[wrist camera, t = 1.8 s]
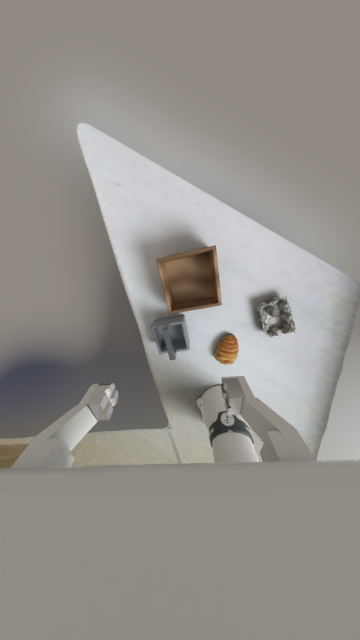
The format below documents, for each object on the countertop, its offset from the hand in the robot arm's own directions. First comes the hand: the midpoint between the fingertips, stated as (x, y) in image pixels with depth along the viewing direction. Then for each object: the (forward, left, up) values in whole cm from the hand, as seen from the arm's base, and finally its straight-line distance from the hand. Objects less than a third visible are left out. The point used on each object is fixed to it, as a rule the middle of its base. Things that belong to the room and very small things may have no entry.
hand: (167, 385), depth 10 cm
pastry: (-18, -10, -31) cm, 38 cm away
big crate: (+5, -3, -31) cm, 31 cm away
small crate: (-9, +5, -31) cm, 33 cm away
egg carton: (-9, -23, -31) cm, 40 cm away
